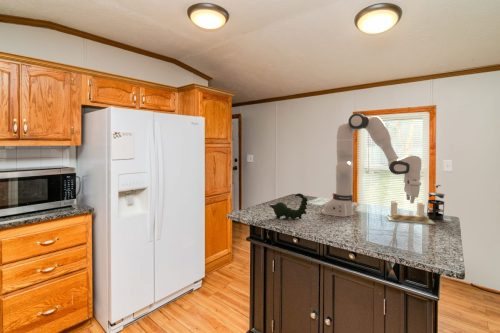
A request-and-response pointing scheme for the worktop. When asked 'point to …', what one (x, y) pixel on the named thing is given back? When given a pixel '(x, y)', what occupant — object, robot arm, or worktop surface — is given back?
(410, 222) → the mat
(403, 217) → the rail
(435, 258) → the worktop surface
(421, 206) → the rack
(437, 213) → the french press
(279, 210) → the toy figurine
